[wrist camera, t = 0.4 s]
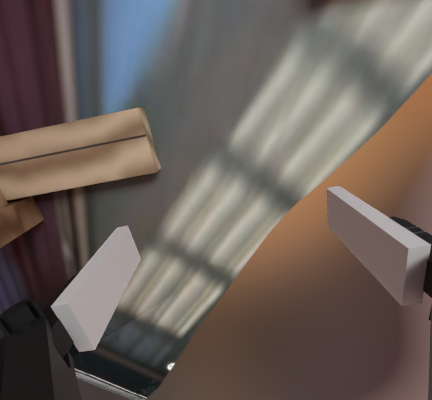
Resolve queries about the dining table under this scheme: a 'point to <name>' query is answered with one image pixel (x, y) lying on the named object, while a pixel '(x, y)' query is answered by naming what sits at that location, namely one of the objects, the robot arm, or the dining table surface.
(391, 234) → the robot arm
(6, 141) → the board
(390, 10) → the dining table surface
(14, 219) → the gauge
